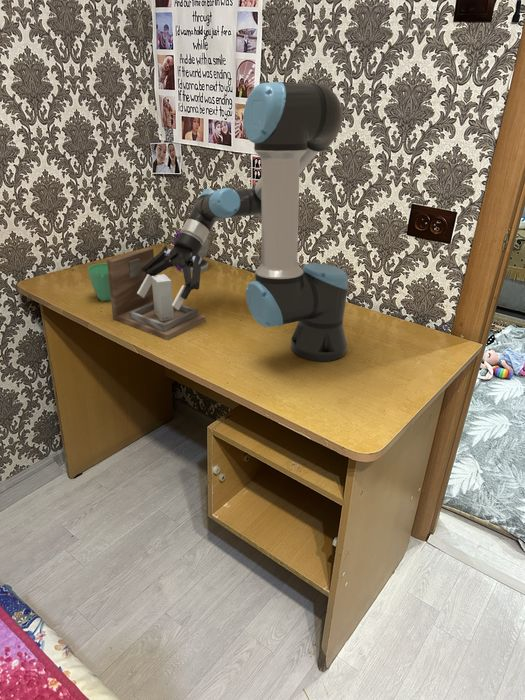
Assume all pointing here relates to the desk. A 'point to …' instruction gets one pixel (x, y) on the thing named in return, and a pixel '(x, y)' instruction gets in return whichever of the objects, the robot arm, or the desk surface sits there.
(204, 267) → the webcam
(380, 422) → the desk surface
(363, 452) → the desk surface
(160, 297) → the skincare box
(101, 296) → the mug
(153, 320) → the brown l-shaped piece
